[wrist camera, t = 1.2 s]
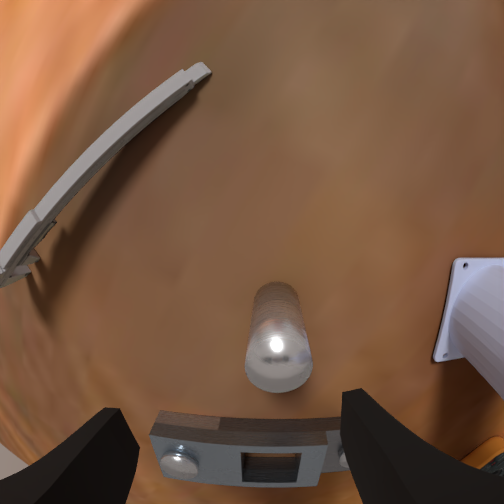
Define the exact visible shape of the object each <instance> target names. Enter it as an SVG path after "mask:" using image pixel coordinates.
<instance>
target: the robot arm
mask: <svg viewBox="0 0 504 504" xmlns="http://www.w3.org/2000/svg"><path fill="white" fill-rule="evenodd" d="M464 263H465V264H466V265H465V267H464V268H463V265H464ZM444 354H445V355H444ZM443 355H444V356H443ZM464 357H465V358H466V359H467V360H468V361H469V362H470V363H471V364H472V365H473V366H474V367H475V369H476V370H477V371H478V372H479V373H480V374H481V375H482V376H483V377H484V378H485V380H486V381H487V382H488V383H489V384H490V385H491V386H492V387H493V388H494V390H495V391H496V392H497V393H498V394H499V395H500V397H501V398H502V399H503V400H504V258H457V259H455V260H454V262H453V265H452V272H451V278H450V284H449V289H448V295H447V300H446V305H445V310H444V314H443V319H442V323H441V327H440V331H439V335H438V339H437V343H436V346H435V350H434V354H433V359H434V360H435V361H436V362H441V361H447V360H453V359H458V358H464ZM340 437H341V441H342V445H343V449H344V453H345V457H346V461H347V463H348V466H349V469H350V471H351V474H352V476H353V479H354V481H355V484H356V487H357V489H358V492H359V494H360V497H361V499H362V502H363V504H504V477H502V476H498V475H495V474H492V473H489V472H486V471H483V470H480V469H478V468H475V467H472V466H470V465H467V464H465V463H463V462H461V461H459V460H456V459H454V458H453V457H451V456H449V455H447V454H445V453H443V452H441V451H440V450H438V449H436V448H435V447H433V446H432V445H430V444H429V443H427V442H426V441H424V440H423V439H421V438H420V437H418V436H417V435H416V434H414V433H413V432H411V431H410V430H409V429H408V428H406V427H405V426H404V425H403V424H401V423H400V422H399V421H398V420H396V419H395V418H394V417H393V416H392V415H390V414H389V413H388V412H387V411H386V410H385V409H384V408H382V407H381V406H380V405H379V404H378V403H377V402H376V401H375V400H374V399H373V398H372V397H371V396H370V395H368V394H367V393H366V392H365V391H364V390H363V389H362V388H360V389H355V390H351V391H346V392H342V410H341V425H340ZM139 449H140V447H139V445H138V443H137V441H136V439H135V438H134V436H133V434H132V432H131V430H130V428H129V426H128V424H127V422H126V420H125V418H124V416H123V414H122V412H121V410H120V408H106V407H105V408H103V409H102V410H101V411H99V412H98V413H97V414H96V415H95V416H93V417H92V418H91V419H90V420H89V421H87V422H86V423H85V424H84V425H83V426H82V427H80V428H79V429H78V430H77V431H76V432H74V433H73V434H72V435H71V436H70V437H68V438H67V439H66V440H65V441H64V442H62V443H61V444H60V445H58V446H57V447H56V448H54V449H53V450H52V451H50V452H49V453H48V454H46V455H45V456H44V457H42V458H41V459H39V460H38V461H36V462H35V463H33V464H32V465H30V466H28V467H27V468H25V469H23V470H21V471H19V472H17V473H16V474H13V475H11V476H9V477H7V478H4V479H2V480H0V504H125V503H126V500H127V497H128V494H129V491H130V488H131V485H132V482H133V479H134V475H135V472H136V467H137V462H138V456H139Z"/></svg>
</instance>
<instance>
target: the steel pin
mask: <svg viewBox="0 0 504 504" xmlns="http://www.w3.org/2000/svg"><path fill="white" fill-rule="evenodd" d="M312 367H313V362H312V357H311V352H310V347H309V343H308V338H307V333H306V329H305V324H304V320H303V315H302V311H301V307H300V302H299V298H298V295H297V293H296V291H295V290H294V289H293V288H292V287H291V286H290V285H288V284H286V283H283V282H270V283H267V284H265V285H264V286H262V287H261V288H260V289H259V290H258V291H257V293H256V295H255V297H254V303H253V310H252V317H251V325H250V332H249V339H248V346H247V353H246V360H245V372H246V375H247V377H248V379H249V380H250V381H251V382H252V383H253V384H254V385H255V386H256V387H258V388H260V389H262V390H264V391H268V392H273V393H282V392H288V391H291V390H294V389H296V388H298V387H300V386H301V385H302V384H303V383H305V382H306V380H307V379H308V378H309V376H310V374H311V372H312Z"/></svg>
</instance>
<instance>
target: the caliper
mask: <svg viewBox="0 0 504 504" xmlns="http://www.w3.org/2000/svg"><path fill="white" fill-rule="evenodd" d="M209 74H211V71H210V70H209V69H208V68H207V67H206V66H205V65H204V64H203V63H202V62H200V63H196V64H195V65H193V66H192V67H191V68H189V69H188V70H186V71H184V70H183V69H181V70H180V71H179V72H177V73H176V74H174V75H173V76H172V77H170V78H169V79H168V80H166V81H165V82H164V83H162V84H161V85H160V86H158V87H157V88H156V89H154V90H153V91H152V92H151V93H149V94H148V95H147V96H146V97H144V98H143V99H142V100H141V101H139V102H138V103H137V104H136V105H135V106H133V107H132V108H131V109H130V110H129V111H128V112H126V113H125V114H124V115H123V116H122V117H121V118H120V119H118V120H117V121H116V122H115V123H114V124H113V125H112V126H111V127H110V128H109V129H107V130H106V131H105V132H104V133H103V134H102V135H101V136H100V137H99V138H98V139H97V140H96V141H95V142H94V143H93V144H92V145H91V146H90V147H89V148H88V149H87V150H86V151H85V152H84V153H83V154H82V155H81V156H80V157H79V158H78V159H77V160H76V161H75V162H74V163H73V164H72V165H71V167H70V168H69V169H68V170H67V171H66V172H65V173H64V174H63V175H62V176H61V178H60V179H59V180H58V181H57V182H56V183H55V184H54V186H53V187H52V188H51V189H50V190H49V192H48V193H47V194H46V195H45V196H44V198H43V199H42V200H41V201H40V202H39V204H38V205H37V206H36V207H35V209H34V210H33V209H32V210H29V212H28V213H27V214H26V216H25V217H24V218H23V220H22V221H21V222H20V224H19V225H18V226H17V228H16V229H15V230H14V232H13V233H12V235H11V236H10V237H9V239H8V240H7V242H6V243H5V245H4V246H3V248H2V249H1V251H0V288H2V287H5V286H7V285H9V284H11V283H14V282H16V281H18V280H20V279H22V278H24V277H26V276H27V275H29V274H30V272H31V271H30V269H29V268H28V266H27V265H28V264H32V263H34V262H38V261H39V259H40V257H39V256H38V254H37V253H36V251H35V250H34V247H35V246H36V245H37V244H38V243H39V242H40V241H41V240H42V239H43V238H44V237H45V236H46V234H47V233H48V231H49V230H50V229H51V228H52V227H53V226H54V225H55V224H56V223H57V222H56V220H55V217H56V216H57V215H58V214H59V213H60V212H61V210H62V209H63V208H64V207H65V206H66V205H67V204H68V202H69V201H70V200H71V199H72V198H73V197H74V196H75V195H76V194H77V193H78V191H79V190H80V189H81V188H82V187H83V186H84V185H85V184H86V183H87V182H88V181H89V180H90V179H91V178H92V177H93V176H94V175H95V174H96V173H97V172H98V171H99V170H100V169H101V168H102V167H103V166H104V165H105V164H106V163H107V162H108V161H109V160H110V159H111V158H112V157H113V156H114V155H115V154H116V153H117V152H118V151H119V150H120V149H122V148H123V147H124V146H125V145H126V144H127V143H128V142H129V141H130V140H132V139H133V138H134V137H135V136H136V135H137V134H138V133H139V132H141V131H142V130H143V129H144V128H145V127H147V126H148V125H149V124H150V123H151V122H152V121H154V120H155V119H156V118H157V117H159V116H160V115H161V114H162V113H164V112H165V111H166V110H167V109H169V108H170V107H171V106H172V105H174V104H175V103H176V102H177V101H178V100H180V99H181V98H182V97H183V96H184V95H185V94H186V93H188V92H189V91H190V90H191V89H192V88H194V85H195V84H197V83H198V82H199V81H201V80H202V79H204V78H205V77H207V76H208V75H209Z"/></svg>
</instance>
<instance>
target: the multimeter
mask: <svg viewBox="0 0 504 504" xmlns="http://www.w3.org/2000/svg"><path fill="white" fill-rule="evenodd" d="M461 462H463V463H465V464H467V465H470V466H472V467H475V468H478V469H480V470H483V471H486V472H489V473H492V474H495V475H498V476H502V477H504V439H502V438H501V437H499V436H495V437H492V438H490V439H488V440H486V441H485V442H484V443H482V444H481V445H480V446H479V447H477V448H476V449H475V450H474V451H472V452H471V453H470V454H469V455H467V456H466V457H465V458H463V459H462V460H461Z"/></svg>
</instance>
